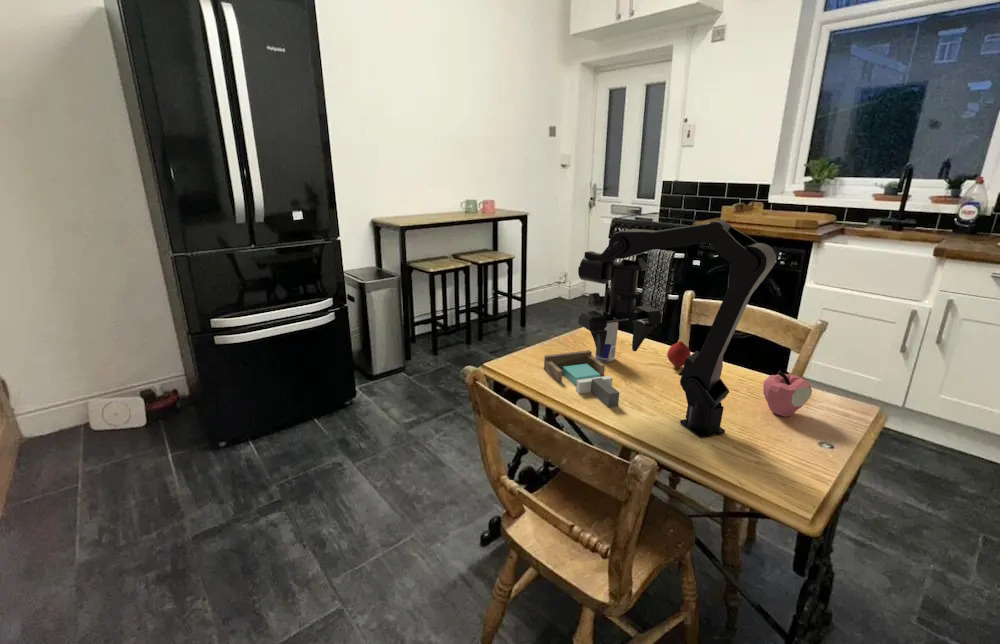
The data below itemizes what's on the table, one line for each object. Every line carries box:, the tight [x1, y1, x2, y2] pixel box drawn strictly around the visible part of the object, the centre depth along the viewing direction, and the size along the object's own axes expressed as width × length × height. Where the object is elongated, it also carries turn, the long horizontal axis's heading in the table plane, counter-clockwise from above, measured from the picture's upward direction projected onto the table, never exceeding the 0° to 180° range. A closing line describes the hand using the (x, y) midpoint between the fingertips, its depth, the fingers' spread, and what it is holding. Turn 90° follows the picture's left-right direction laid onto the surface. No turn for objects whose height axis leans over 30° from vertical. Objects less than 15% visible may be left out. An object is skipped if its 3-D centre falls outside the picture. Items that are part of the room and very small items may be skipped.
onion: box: [666, 339, 691, 369], centre depth 129 cm, size 6×6×8 cm
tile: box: [562, 364, 601, 386], centre depth 123 cm, size 7×7×2 cm
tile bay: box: [543, 349, 606, 383], centre depth 125 cm, size 8×13×4 cm, turn 109°
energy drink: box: [594, 322, 619, 363], centre depth 133 cm, size 5×5×12 cm
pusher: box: [575, 375, 620, 408], centre depth 112 cm, size 10×9×4 cm
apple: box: [762, 370, 813, 417], centre depth 106 cm, size 10×9×10 cm
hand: (617, 353), depth 110 cm, fingers open, 9 cm apart
